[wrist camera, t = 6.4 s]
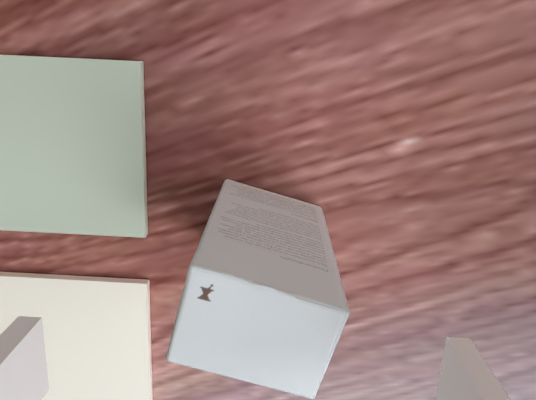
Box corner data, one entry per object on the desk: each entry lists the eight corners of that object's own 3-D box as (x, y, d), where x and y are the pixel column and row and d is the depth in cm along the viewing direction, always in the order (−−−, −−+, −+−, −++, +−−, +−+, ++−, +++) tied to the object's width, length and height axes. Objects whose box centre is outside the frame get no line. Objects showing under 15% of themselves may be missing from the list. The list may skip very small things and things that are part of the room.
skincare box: (206, 242, 30) (158, 362, 18) (225, 176, 28) (187, 260, 17) (302, 269, 30) (315, 405, 19) (325, 206, 29) (353, 308, 17)
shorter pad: (143, 61, 27) (140, 61, 26) (147, 234, 30) (145, 237, 29) (-76, 50, 27) (-84, 50, 26) (-50, 223, 30) (-57, 227, 29)
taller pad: (149, 279, 30) (146, 283, 30) (152, 413, 33) (150, 420, 33) (-44, 269, 31) (-50, 273, 30) (-23, 403, 34) (-29, 409, 33)
